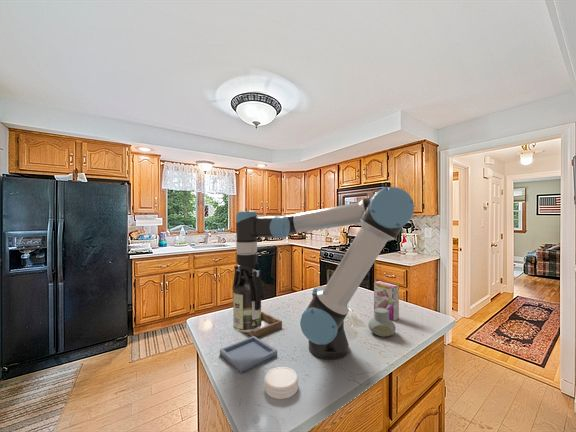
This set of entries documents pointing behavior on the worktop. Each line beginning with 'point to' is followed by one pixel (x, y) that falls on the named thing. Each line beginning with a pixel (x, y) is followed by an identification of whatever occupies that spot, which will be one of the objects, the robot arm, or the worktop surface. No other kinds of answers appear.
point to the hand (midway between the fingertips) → (247, 314)
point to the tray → (248, 354)
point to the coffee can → (244, 309)
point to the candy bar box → (387, 298)
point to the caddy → (267, 329)
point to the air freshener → (381, 323)
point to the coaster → (281, 383)
